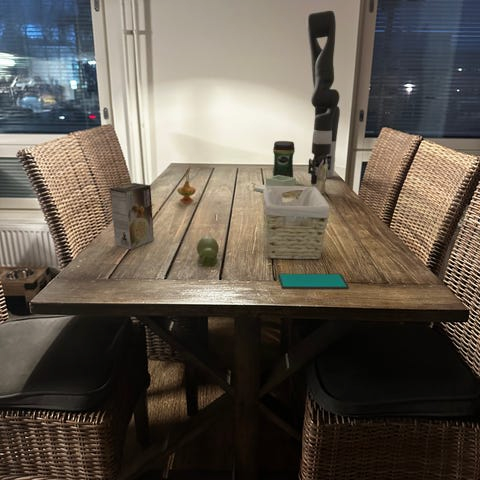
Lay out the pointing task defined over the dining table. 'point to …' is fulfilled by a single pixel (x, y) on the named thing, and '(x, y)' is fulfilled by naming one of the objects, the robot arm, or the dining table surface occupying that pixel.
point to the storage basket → (294, 222)
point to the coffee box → (132, 215)
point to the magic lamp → (186, 190)
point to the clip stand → (277, 182)
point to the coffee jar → (283, 158)
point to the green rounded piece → (207, 251)
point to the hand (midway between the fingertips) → (318, 182)
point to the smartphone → (312, 281)
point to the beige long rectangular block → (321, 179)
